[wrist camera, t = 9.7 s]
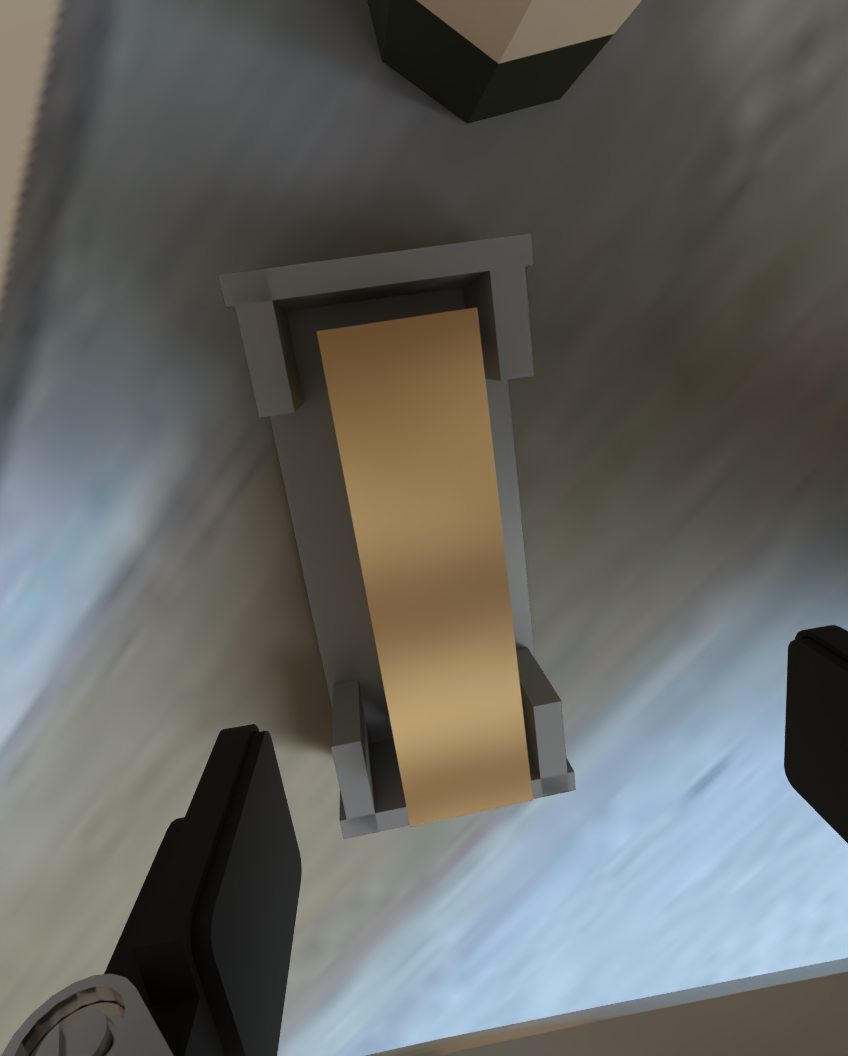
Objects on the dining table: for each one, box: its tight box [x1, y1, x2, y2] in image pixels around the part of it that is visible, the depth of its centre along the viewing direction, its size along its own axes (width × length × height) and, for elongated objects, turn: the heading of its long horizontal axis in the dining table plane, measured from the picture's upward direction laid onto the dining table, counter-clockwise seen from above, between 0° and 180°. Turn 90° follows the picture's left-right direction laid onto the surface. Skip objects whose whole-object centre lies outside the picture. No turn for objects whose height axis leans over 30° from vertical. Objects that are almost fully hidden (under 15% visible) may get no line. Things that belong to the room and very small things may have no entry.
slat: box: [317, 307, 533, 827], centre depth 20 cm, size 15×4×6 cm, turn 8°
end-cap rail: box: [218, 233, 576, 839], centre depth 21 cm, size 19×8×5 cm, turn 8°
